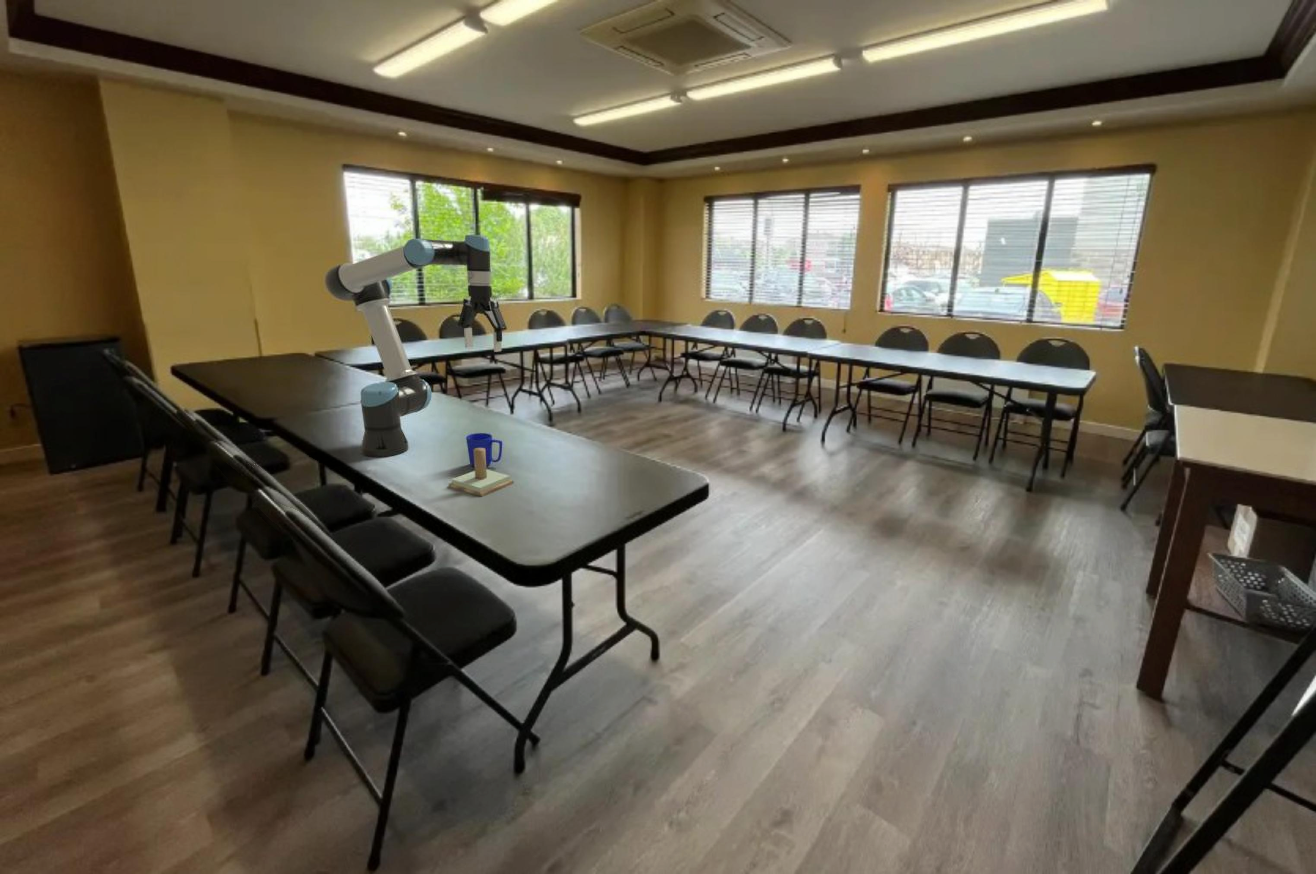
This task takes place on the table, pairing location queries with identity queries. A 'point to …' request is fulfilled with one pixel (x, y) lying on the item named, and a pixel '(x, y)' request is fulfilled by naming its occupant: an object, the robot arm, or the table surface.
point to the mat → (483, 491)
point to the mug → (482, 446)
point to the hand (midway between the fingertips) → (483, 349)
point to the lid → (480, 475)
